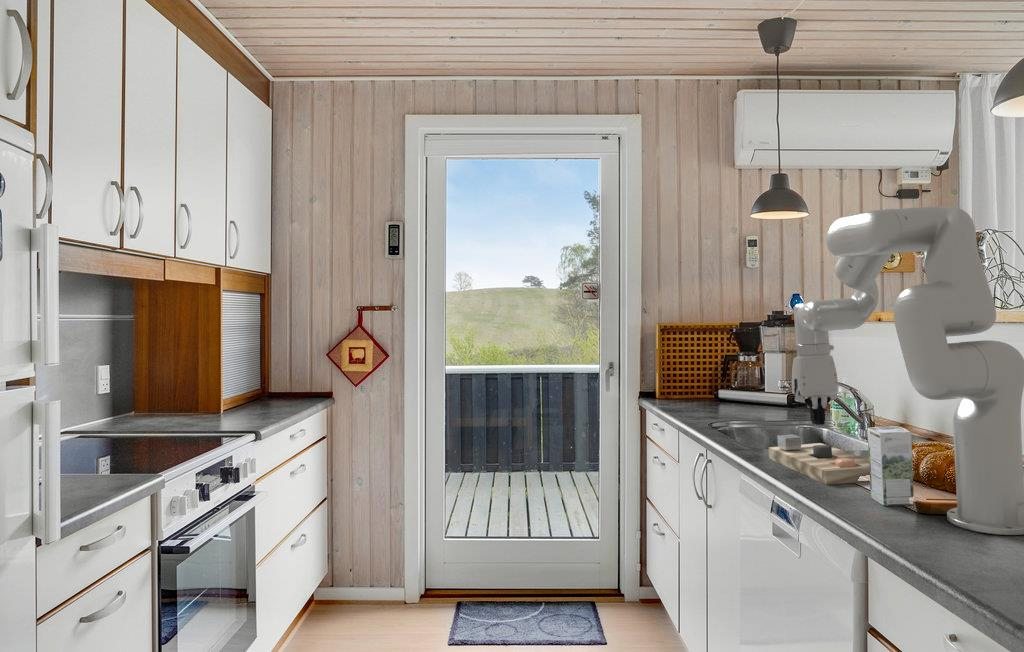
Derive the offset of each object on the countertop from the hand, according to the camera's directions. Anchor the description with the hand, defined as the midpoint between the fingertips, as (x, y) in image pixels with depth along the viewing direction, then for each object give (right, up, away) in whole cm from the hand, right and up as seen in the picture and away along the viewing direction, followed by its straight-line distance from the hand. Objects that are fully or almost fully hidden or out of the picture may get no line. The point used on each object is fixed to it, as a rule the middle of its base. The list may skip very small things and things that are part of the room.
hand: (818, 423), depth 163 cm
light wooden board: (-3, -9, -8) cm, 13 cm away
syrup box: (-2, -10, -36) cm, 38 cm away
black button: (-3, -7, -8) cm, 12 cm away
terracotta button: (-2, -9, -17) cm, 20 cm away
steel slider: (-7, -6, 0) cm, 9 cm away
